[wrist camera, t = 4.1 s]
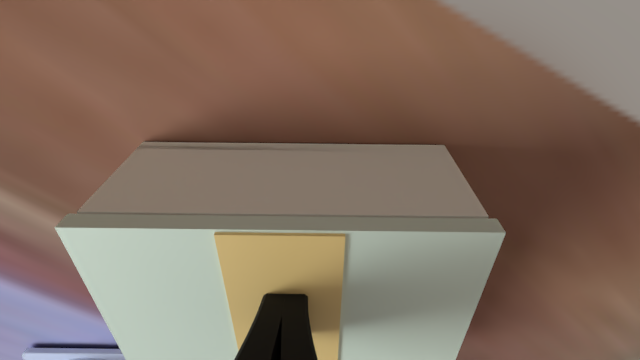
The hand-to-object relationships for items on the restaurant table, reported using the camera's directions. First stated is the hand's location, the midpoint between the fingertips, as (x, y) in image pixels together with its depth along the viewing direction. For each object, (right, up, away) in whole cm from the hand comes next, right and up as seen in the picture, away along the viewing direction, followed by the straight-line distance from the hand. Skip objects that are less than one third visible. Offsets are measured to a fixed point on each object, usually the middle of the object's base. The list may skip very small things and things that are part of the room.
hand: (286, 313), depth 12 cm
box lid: (0, -2, +2) cm, 3 cm away
